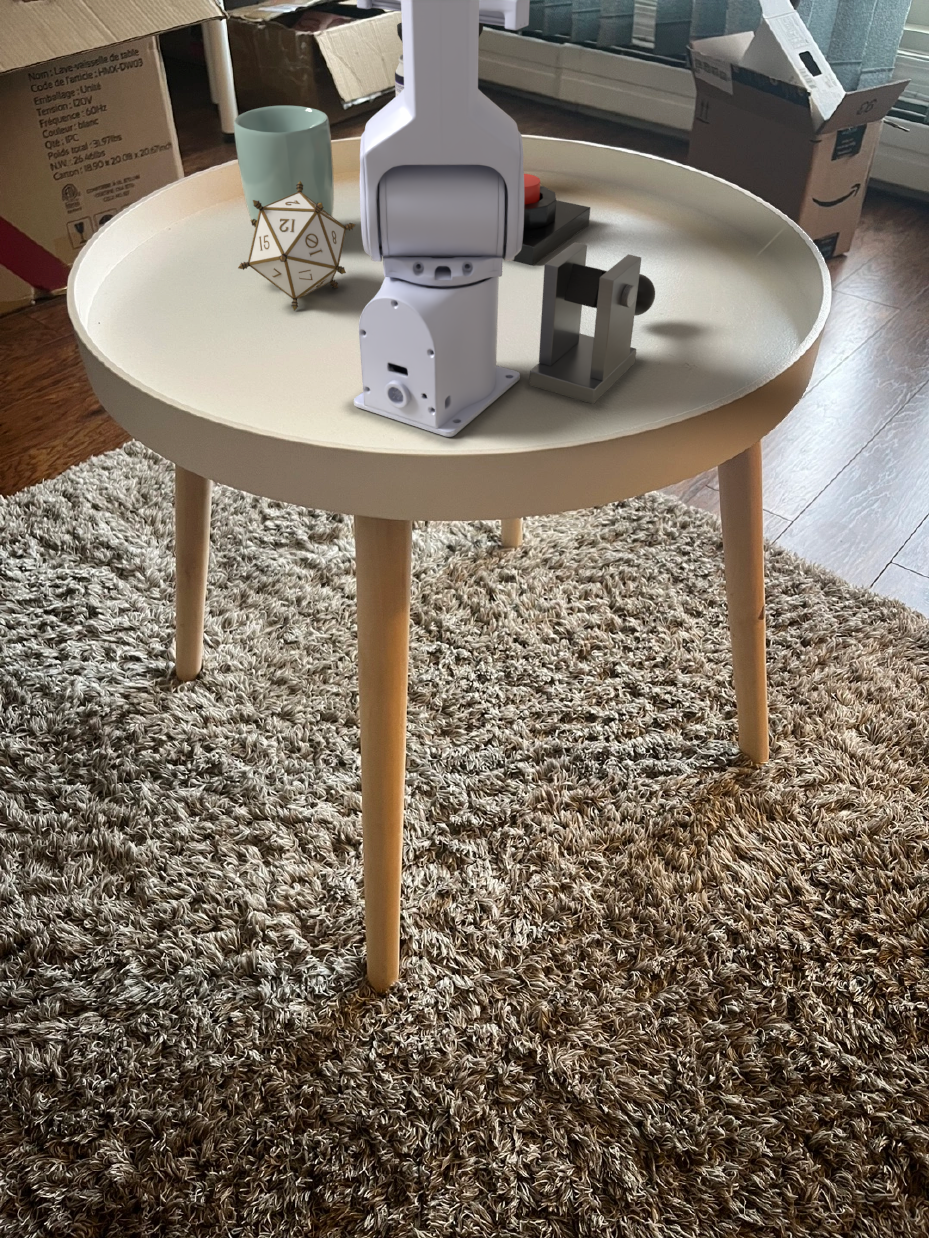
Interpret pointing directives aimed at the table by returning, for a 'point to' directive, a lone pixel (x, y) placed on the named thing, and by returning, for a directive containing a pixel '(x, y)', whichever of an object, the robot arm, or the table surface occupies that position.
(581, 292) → the switch lever
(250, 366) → the table surface
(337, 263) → the game die
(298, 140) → the cup
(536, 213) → the control block
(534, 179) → the stop button
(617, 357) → the switch bracket
